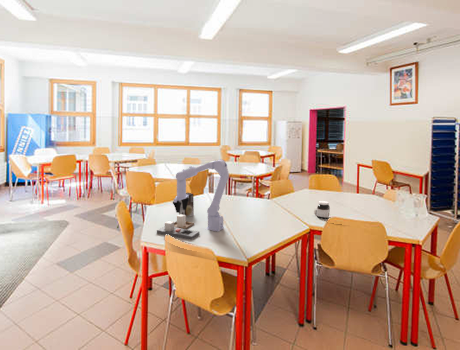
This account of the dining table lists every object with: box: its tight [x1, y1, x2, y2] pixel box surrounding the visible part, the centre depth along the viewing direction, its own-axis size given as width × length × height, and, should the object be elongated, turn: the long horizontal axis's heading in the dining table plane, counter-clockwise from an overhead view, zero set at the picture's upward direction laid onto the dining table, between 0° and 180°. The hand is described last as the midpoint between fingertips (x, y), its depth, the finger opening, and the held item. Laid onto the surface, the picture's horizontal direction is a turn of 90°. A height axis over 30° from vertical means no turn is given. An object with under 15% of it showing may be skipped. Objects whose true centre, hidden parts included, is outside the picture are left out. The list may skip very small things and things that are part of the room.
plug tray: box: [173, 220, 195, 230], centre depth 192 cm, size 12×12×2 cm
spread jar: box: [313, 200, 331, 220], centre depth 217 cm, size 12×11×12 cm
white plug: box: [176, 214, 187, 227], centre depth 191 cm, size 4×4×7 cm
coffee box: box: [178, 192, 195, 218], centre depth 214 cm, size 9×6×16 cm
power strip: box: [156, 225, 200, 241], centre depth 178 cm, size 24×9×3 cm, turn 67°
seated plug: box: [164, 220, 175, 231], centre depth 180 cm, size 4×4×7 cm
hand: (181, 210), depth 190 cm, fingers open, 7 cm apart
